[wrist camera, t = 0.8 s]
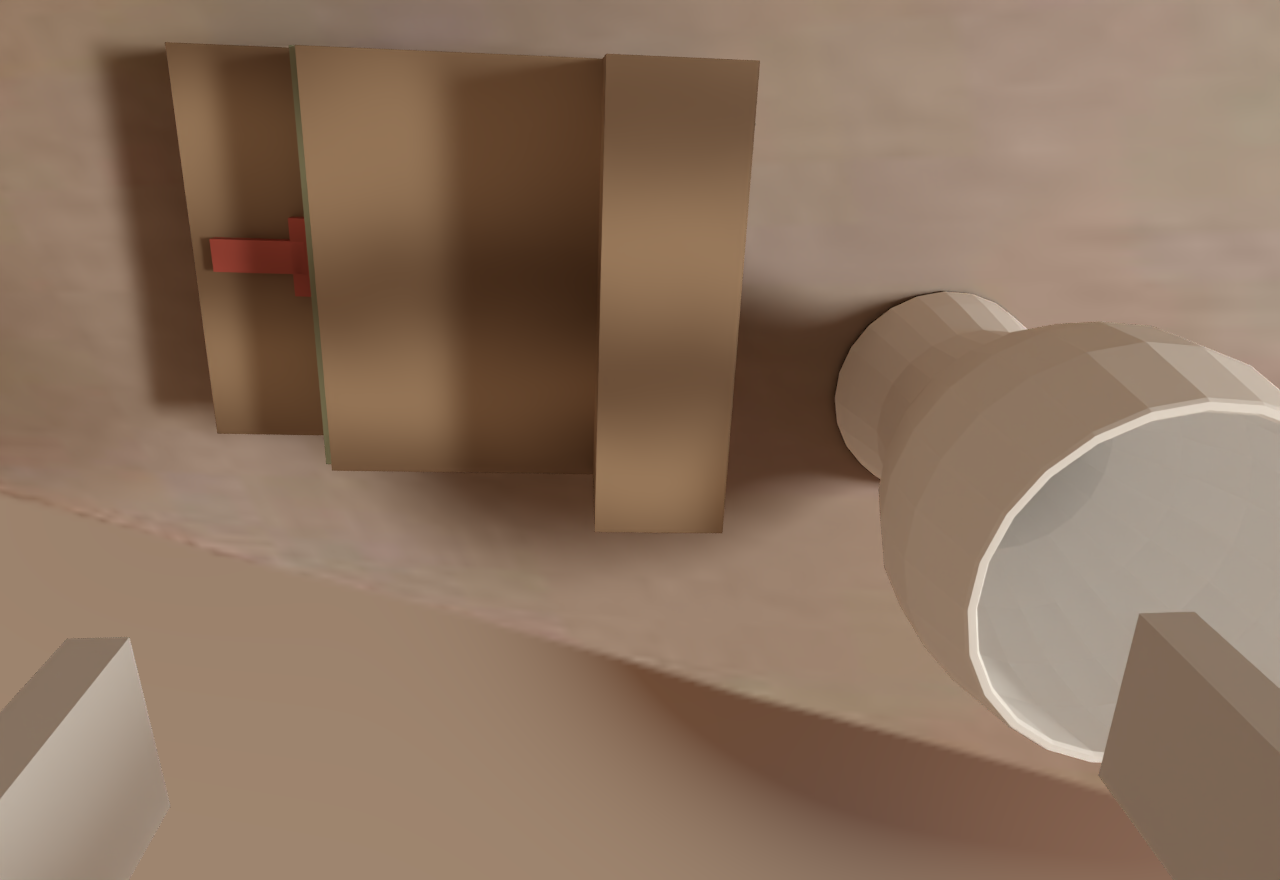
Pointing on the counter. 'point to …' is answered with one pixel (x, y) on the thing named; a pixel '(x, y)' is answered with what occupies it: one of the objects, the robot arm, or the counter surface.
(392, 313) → the stand
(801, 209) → the counter surface
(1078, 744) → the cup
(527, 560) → the counter surface
